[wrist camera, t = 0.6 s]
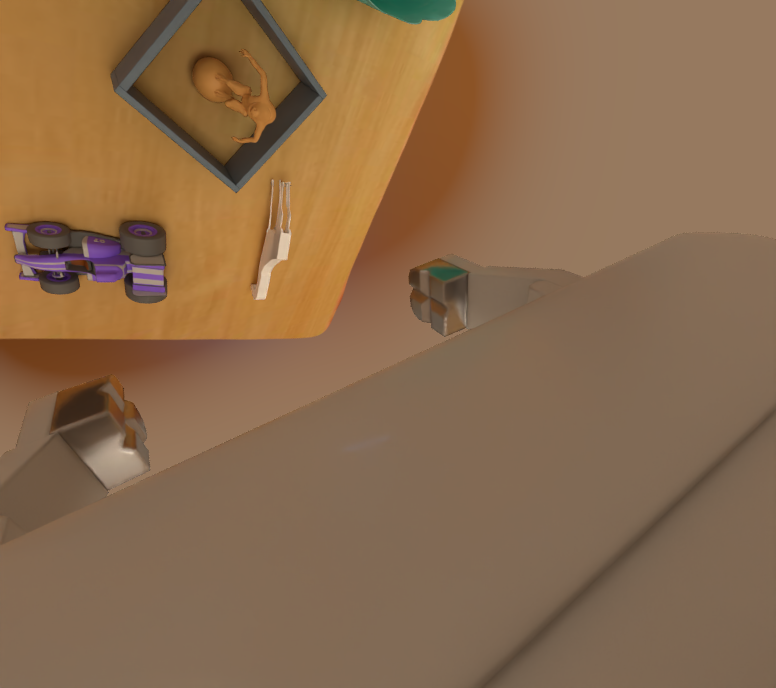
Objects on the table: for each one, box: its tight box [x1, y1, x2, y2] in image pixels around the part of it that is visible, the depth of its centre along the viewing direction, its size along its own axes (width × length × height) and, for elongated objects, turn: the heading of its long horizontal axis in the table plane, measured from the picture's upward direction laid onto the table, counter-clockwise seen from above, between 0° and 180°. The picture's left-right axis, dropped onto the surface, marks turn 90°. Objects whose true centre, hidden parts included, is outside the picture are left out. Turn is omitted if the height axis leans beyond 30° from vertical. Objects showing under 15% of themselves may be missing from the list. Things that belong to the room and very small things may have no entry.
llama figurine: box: [251, 180, 292, 300], centre depth 56 cm, size 2×11×18 cm
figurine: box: [193, 49, 276, 143], centre depth 39 cm, size 8×6×12 cm
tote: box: [111, 0, 327, 193], centre depth 41 cm, size 15×14×6 cm
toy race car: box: [5, 221, 167, 303], centre depth 46 cm, size 10×15×6 cm, turn 69°
